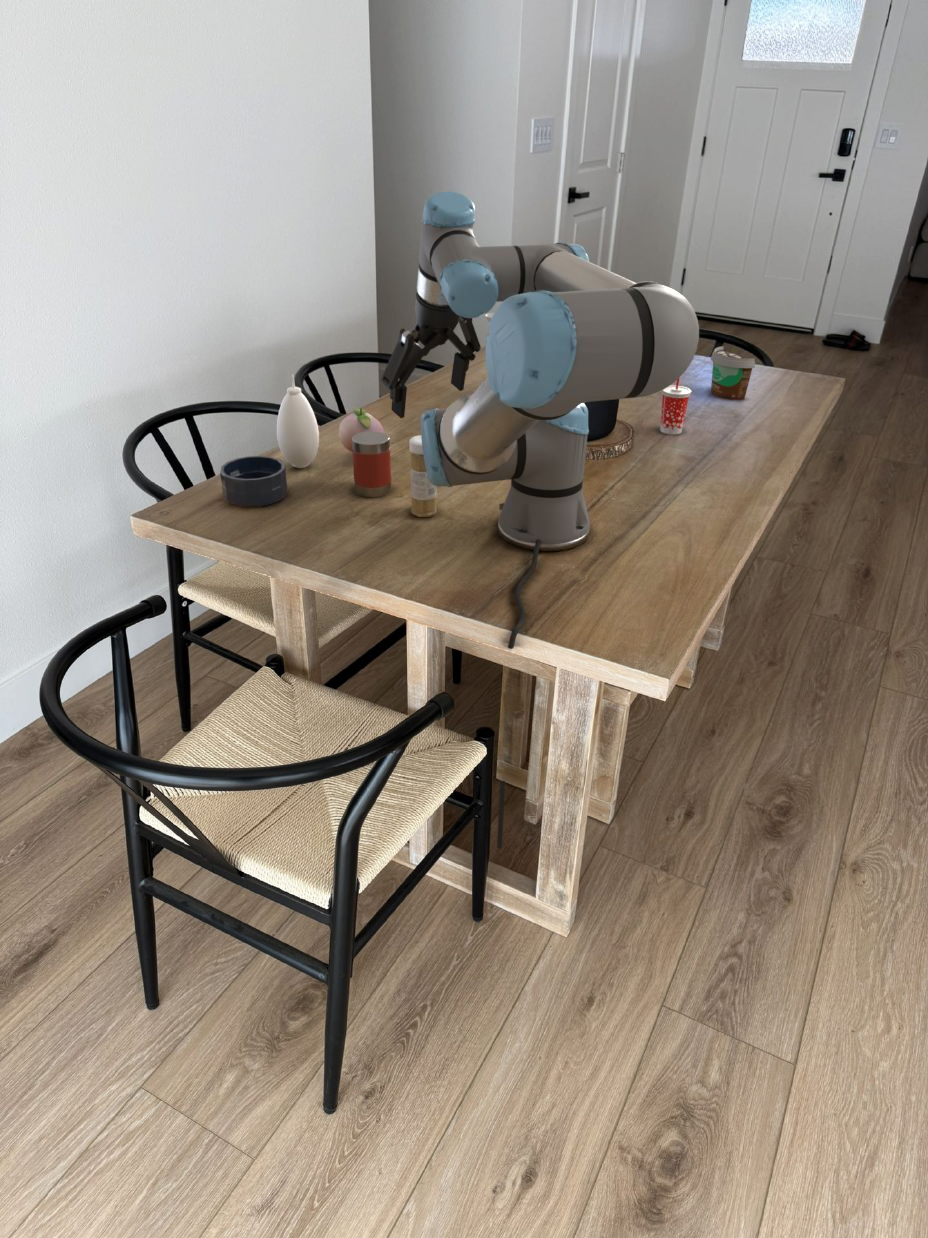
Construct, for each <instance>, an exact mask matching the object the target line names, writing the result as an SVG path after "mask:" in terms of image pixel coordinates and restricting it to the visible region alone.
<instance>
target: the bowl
mask: <svg viewBox="0 0 928 1238" xmlns="http://www.w3.org/2000/svg"><path fill="white" fill-rule="evenodd" d="M286 469H287V468H286V463H285V462H283V460H281V459H279V458H277V457H273V456H266V455H247V456H242V457H236V458H234V459H231V460H229V461H227V462H225V463H224V464H223V465H221V466H220V470H219V475H220V483H221V489H222V495H223V496H222V497H223V499H224V500H226V502H228V503H230V504H232V505H236V506H240V507H247V508H259V507H265V506H269V505H272V504H274V503H276V502H279V501H280V500H283V499H284V498H285V497H287V495H288V492H289V491H288V479H287V470H286Z"/></svg>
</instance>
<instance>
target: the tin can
mask: <svg viewBox="0 0 928 1238" xmlns="http://www.w3.org/2000/svg"><path fill="white" fill-rule="evenodd" d="M352 446H353V447H352V452H351V453H352V467H353V470H352V471H353V483H354V492H355V493H356V494H357V495H359V496H361V497H364V498H379V497H383V496H387V495H388V494H390V493H391V491H392V466H391V465H392V464H391V463H392V462H391V446H390V436H389V434H387V433H385V432H384V433H381V432H373V431H371V432H362V433H358V434H356V435H354V436H353V437H352Z"/></svg>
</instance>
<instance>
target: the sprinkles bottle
mask: <svg viewBox="0 0 928 1238" xmlns="http://www.w3.org/2000/svg"><path fill="white" fill-rule="evenodd" d="M408 447H409V448H408V449H409V452H410V496H411V508H410V512H411V514H412V515H413V516H415V517H419V518H429V517H432V516H434V515H436V514H437V511H438V510H437V486H434V485H433V484H431V482H430V481H429V478H428V475H427V471H426V467H425V461H424V455H423V448H422V439H421V434H420V435H415V436H413V437H411V438H409V445H408Z"/></svg>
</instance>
